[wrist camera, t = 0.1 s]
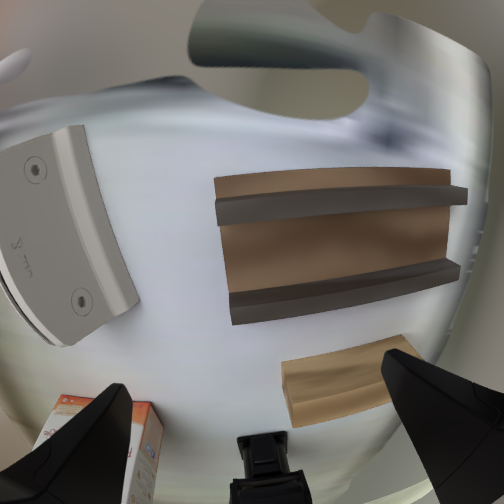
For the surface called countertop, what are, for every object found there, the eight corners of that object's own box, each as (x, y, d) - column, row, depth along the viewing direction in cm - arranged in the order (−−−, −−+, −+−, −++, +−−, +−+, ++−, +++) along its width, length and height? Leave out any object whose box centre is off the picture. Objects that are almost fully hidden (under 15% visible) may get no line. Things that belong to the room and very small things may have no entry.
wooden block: (394, 359, 28) (417, 390, 22) (282, 386, 27) (292, 428, 22) (400, 333, 27) (427, 364, 21) (280, 360, 26) (293, 403, 20)
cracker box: (149, 397, 26) (119, 564, 6) (165, 427, 28) (150, 572, 8) (58, 391, 26) (4, 511, 6) (78, 419, 27) (40, 533, 8)
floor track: (436, 280, 25) (455, 293, 22) (233, 318, 24) (234, 341, 20) (443, 169, 21) (467, 172, 18) (214, 177, 20) (212, 179, 17)
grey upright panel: (142, 303, 23) (69, 377, 14) (108, 305, 24) (41, 366, 15) (82, 120, 17) (-22, 135, 8) (53, 143, 19) (-36, 164, 10)
